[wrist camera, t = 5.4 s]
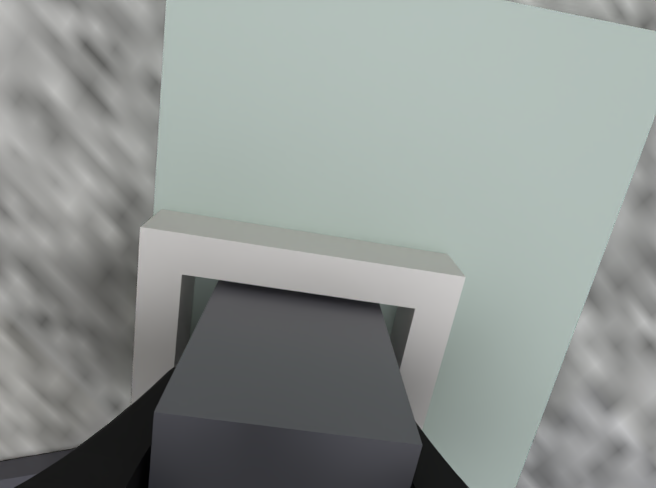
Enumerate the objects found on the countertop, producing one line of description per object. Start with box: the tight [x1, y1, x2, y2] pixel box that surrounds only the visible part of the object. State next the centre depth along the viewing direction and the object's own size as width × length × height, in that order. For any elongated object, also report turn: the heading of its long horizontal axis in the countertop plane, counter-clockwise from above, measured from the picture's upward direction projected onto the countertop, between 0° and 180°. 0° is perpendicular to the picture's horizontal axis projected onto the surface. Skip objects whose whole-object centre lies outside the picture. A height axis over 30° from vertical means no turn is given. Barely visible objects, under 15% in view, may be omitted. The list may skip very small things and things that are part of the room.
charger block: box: [148, 280, 422, 488], centre depth 10 cm, size 4×4×6 cm
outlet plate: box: [131, 0, 656, 488], centre depth 13 cm, size 16×12×3 cm
